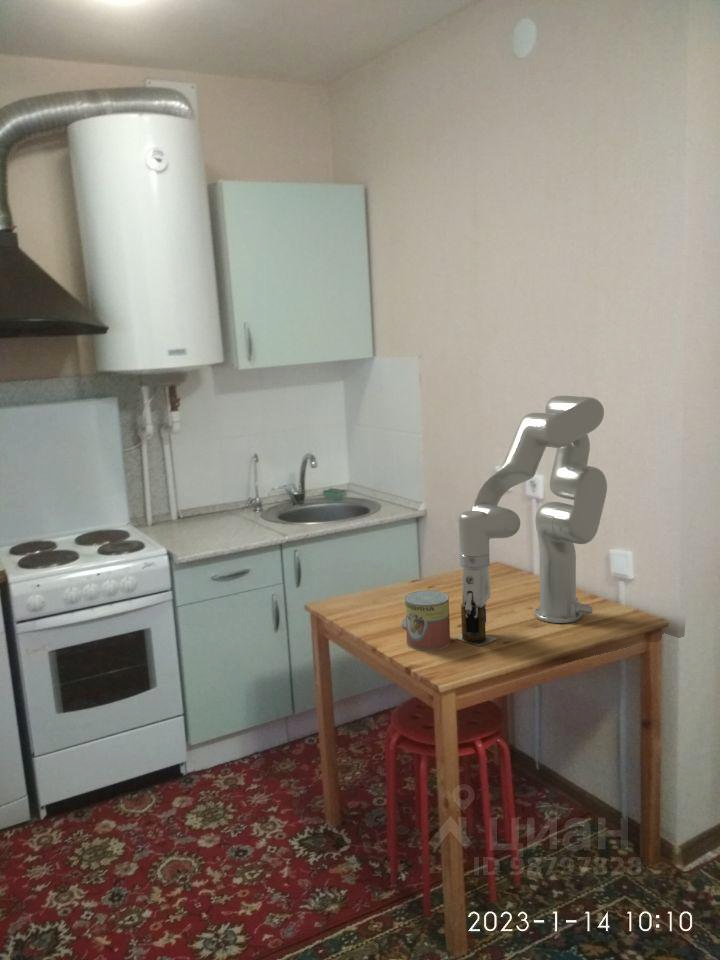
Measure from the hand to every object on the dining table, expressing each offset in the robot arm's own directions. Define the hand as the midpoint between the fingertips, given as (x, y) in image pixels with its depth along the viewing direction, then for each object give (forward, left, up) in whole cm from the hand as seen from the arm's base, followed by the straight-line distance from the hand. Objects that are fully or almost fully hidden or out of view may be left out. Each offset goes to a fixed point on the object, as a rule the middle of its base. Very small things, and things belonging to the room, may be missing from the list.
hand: (476, 626), depth 203 cm
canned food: (+11, +6, -3) cm, 13 cm away
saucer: (+17, -5, -3) cm, 18 cm away
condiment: (0, +1, -3) cm, 3 cm away
